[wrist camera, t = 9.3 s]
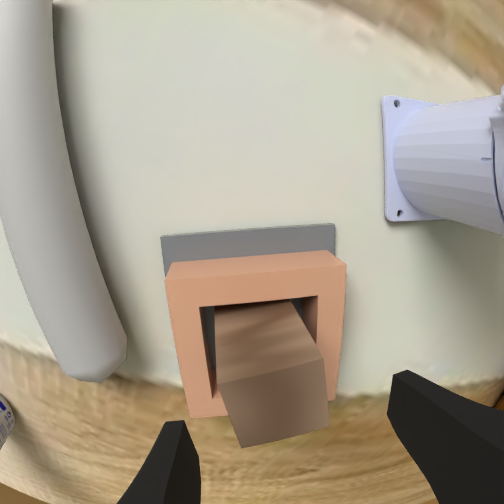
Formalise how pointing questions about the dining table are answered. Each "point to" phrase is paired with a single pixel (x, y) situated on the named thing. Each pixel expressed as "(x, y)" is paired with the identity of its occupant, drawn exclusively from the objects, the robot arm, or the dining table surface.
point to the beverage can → (5, 420)
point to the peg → (269, 372)
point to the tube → (49, 203)
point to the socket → (250, 294)
